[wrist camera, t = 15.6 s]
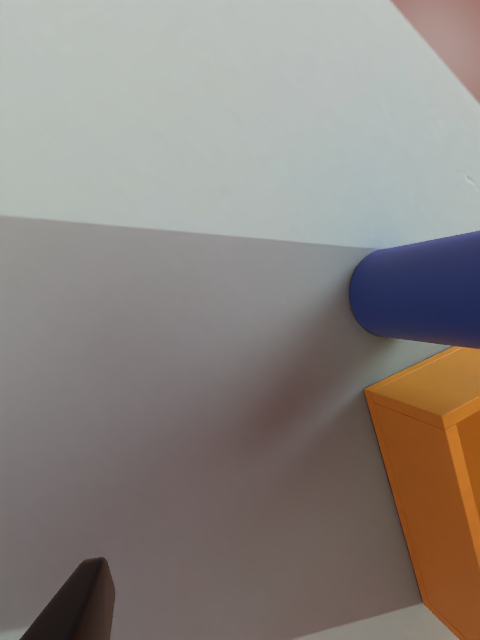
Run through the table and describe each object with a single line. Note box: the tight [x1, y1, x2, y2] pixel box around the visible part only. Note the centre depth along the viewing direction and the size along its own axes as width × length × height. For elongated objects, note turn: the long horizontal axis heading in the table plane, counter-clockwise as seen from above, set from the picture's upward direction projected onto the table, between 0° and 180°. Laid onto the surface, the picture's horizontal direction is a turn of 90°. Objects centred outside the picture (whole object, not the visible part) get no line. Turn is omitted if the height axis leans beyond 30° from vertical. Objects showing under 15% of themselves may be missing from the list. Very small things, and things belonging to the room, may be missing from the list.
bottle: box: [350, 231, 480, 349], centre depth 17 cm, size 5×5×12 cm
